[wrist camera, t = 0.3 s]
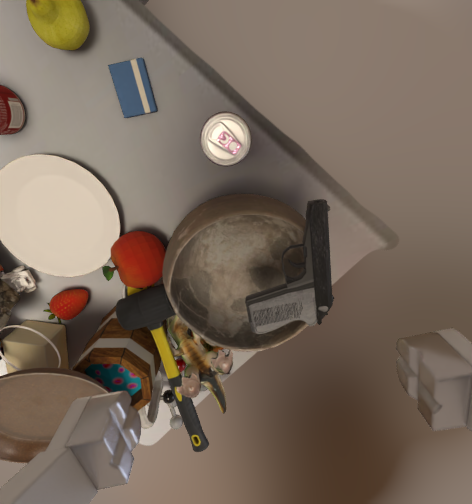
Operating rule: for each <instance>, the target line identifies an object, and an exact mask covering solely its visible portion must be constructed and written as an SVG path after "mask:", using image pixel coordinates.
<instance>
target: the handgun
mask: <svg viewBox="0 0 472 504" xmlns="http://www.w3.org/2000/svg"><path fill="white" fill-rule="evenodd" d="M329 210H330V206H328V205H327V201H326V200H312V201H308V204H307V210H306V224H305V230H304V235H303V241H302V243H303V244H296V245H290V246H289V247H287V248H286V249H285V250H284V251H283V252H282V257H281V260H282V269H283V272H284V275H285V279H286V283H285V284H282V285H278V286H275V287H272V288H269V289H266V290H263V291H260V292H257V293H254V294H251V295H248V296H246V298H245V304H246V309H247V314H248V319H249V322H250V326H251V331H252V332H254V333H257V334H263V333H266V332H270V331H273V330H275V329H277V328H280V327H282V326H284V325H286V324H288V323H290V322H292V321H296V320H302V321H305V322H306V323H307V324H308V325H309V326H314V325H315V324H316V322H317V323H318V324H319V325H320V324H321V323H322V322H321V321H322V319H323V317H324V316H325V315H328V313H327V312H328V311H329V309H330V308H331V306H332V302H333V299H334V297H333V295H332V286H331V266H330V247H329V227H328V211H329ZM299 247H303V255H304V262H302V263H294V262H292V261H291V260H289V259H288V262H289V264H291V265H292V266H293V267H296V268H304V269H303V271H302V272H301V273H300V274H299V275H298V276H295V277H290V276H288V275H286V274H285V271H284V264H283V257H284V254H285V253H286V252H287V251H288V250H290V249H292V248H299Z"/></svg>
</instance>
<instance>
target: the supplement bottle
mask: <svg viewBox="0 0 472 504" xmlns="http://www.w3.org/2000/svg"><path fill="white" fill-rule="evenodd" d="M160 284H164V283H163V280H162V279H161V278H160V280H159V281H158V282H156V283H154V284H153V285H151V286H147V287H144V288H132V287H128V286H126V285H125V284H123V288H122V297H123V298H125V297H127V296H129V295H131V294H134V293H136V292H139V291H141V290H144V289H147V288H150V287H153V286H156V285H160Z"/></svg>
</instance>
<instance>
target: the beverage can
mask: <svg viewBox="0 0 472 504" xmlns="http://www.w3.org/2000/svg"><path fill="white" fill-rule="evenodd" d="M200 143H201V147H202V150H203V152H204V154H205V155H206V157H207V158H208V159H209V160H210V161H212V162H213V163H215V164H217V165H220V166H232V165H235V164H237V163H239V162H241V161H242V160H243V159H244V158H245V157H246V155H247V154H248V152H249V150H250V147H251V132H250V129H249V126H248V125H247V123H246V122H245V120H244V119H243V118H242V117H240V116H239V115H237V114H235V113H232V112H219V113H216V114H214V115H212V116H211V117H210V118H209V119H208V120H207V121H206V122H205V124H204V125H203V127H202V130H201V134H200Z"/></svg>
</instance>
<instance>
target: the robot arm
mask: <svg viewBox="0 0 472 504" xmlns="http://www.w3.org/2000/svg"><path fill="white" fill-rule="evenodd" d="M396 345H397V346H396V349H397V351H398V352H399V354H400V355H401V356H400V357H399V359H398V360H397V372H398V376H399V379H400V382H401V384H402V386H403V388H404V389H405V391H406V392H407V394H408V395H409V396H411V397H413V398H414V399H416V400H418V410H419V411H420V413H421V414H422V416H423V417H424V419H425V420H426V422H427V423H428V425H429V426H430V427H431V429H432V430H433V431H438V430H445V429H452V428H459V427H466V426H467V428H468V429H469V430H470V431H472V343H471V342H470V341H469V340H468V339H466V338H465V337H464V336H463V335H462V334H461V333H460V332H458V331H457V330H456V329H453V328H449V329H444V330H440V331H434V332H430V333H425V334H420V335H415V336H409V337H405V338H399V339H398V341H397V344H396ZM131 400H132V398H131V396H130V394H129V392H128V391H124V390H123V391H117V392H111V393H105V394H99V395H93V396H89V397H82V398H77V399H76V400H75V401H73V402H72V404H71V406H70V408H69V410H68V411H67V413H66V415H65V417H64V419H63V420H62V422H61V424H60V426H59V428H58V429H57V431H56V433H55V435H54V437H53V438H52V440H51V442H50V444H49V446H48V447H47V449H46V451H44V452H40V453H39V454H38V455H37V456H35V457H34V458H33V459H32V460H31V461H30V462H29V463H28V464H27V465H26V466H24V467H23V468H22V469H21V470H20V471H19V472H18V473H17V474H15V476H13V477H12V478H11V479H10V480H9V481H8V482H7V483H6V484H4V485H3V486H2V487H1V488H0V504H89V503H90V502H91V500H92V499H93V498H94V496H95V495H96V493H97V492H98V491H97V490H99V489H104V488H109V487H113V486H118V485H124V484H127V482H128V479H129V475H130V472H131V468H132V465H133V460H134V457H133V455H132V453H131V451H132V450H133V449H134V448H135V447H136V445H137V444H138V443H139V439H140V435H141V420H140V415H139V413H138V410H137V409H136V408H134V407H132V406H131V405H130V403H131Z"/></svg>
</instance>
